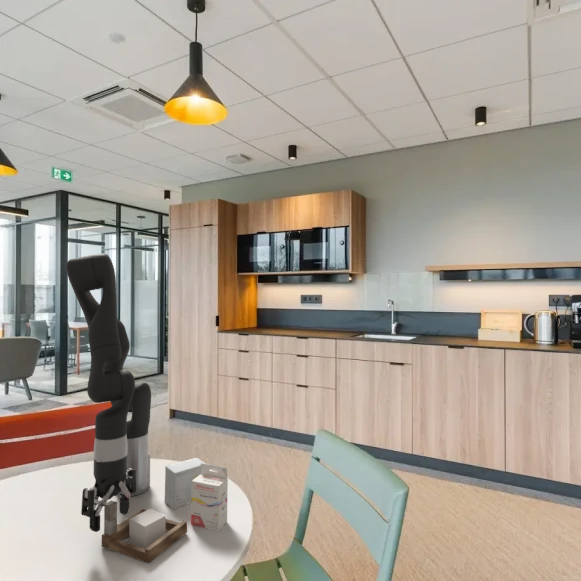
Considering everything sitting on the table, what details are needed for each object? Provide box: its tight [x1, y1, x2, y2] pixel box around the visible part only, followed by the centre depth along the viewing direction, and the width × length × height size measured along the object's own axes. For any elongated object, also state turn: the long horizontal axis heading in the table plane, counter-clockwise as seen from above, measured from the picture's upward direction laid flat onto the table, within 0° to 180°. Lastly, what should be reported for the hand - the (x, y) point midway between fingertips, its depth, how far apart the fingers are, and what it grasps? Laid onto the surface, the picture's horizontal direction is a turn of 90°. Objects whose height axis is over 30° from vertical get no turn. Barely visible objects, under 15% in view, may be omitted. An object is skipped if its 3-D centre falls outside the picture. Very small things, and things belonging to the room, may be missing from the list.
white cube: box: [128, 508, 167, 549], centre depth 104 cm, size 6×6×6 cm
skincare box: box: [164, 457, 207, 510], centre depth 125 cm, size 10×6×10 cm, turn 132°
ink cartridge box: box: [190, 463, 229, 532], centre depth 112 cm, size 9×5×15 cm, turn 71°
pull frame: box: [101, 500, 188, 564], centre depth 104 cm, size 13×15×10 cm
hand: (110, 521), depth 102 cm, fingers open, 8 cm apart
